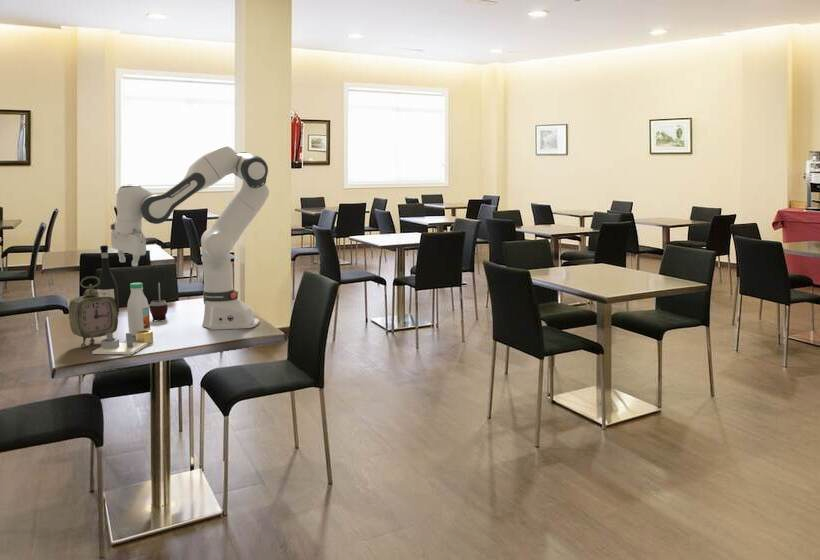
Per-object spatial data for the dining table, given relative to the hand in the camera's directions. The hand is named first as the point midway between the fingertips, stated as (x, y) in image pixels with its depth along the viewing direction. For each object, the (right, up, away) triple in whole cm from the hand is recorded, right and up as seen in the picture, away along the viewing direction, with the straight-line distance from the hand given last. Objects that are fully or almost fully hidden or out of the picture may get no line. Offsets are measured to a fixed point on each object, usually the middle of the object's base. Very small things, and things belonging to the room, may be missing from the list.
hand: (128, 264), depth 265 cm
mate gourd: (+1, -23, +30) cm, 38 cm away
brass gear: (+9, -29, -7) cm, 31 cm away
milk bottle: (+3, -27, +5) cm, 28 cm away
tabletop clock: (-9, -30, -9) cm, 32 cm away
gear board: (+4, -31, -18) cm, 36 cm away
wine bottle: (-25, -21, +42) cm, 54 cm away
